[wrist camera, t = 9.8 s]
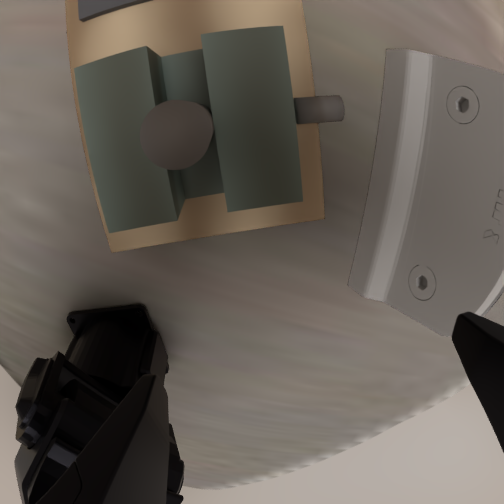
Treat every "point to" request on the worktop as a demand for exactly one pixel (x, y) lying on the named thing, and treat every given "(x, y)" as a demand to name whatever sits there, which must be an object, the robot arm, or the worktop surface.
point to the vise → (198, 118)
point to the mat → (103, 7)
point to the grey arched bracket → (435, 192)
